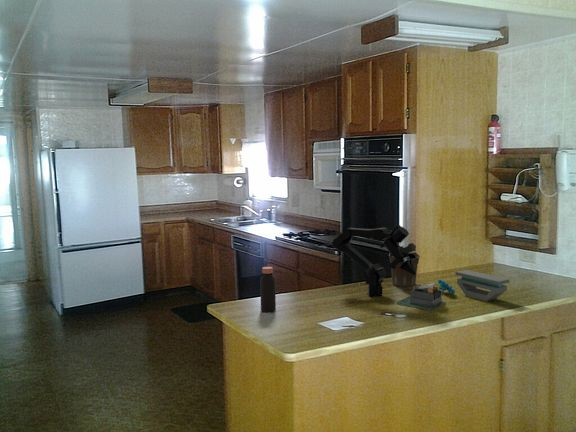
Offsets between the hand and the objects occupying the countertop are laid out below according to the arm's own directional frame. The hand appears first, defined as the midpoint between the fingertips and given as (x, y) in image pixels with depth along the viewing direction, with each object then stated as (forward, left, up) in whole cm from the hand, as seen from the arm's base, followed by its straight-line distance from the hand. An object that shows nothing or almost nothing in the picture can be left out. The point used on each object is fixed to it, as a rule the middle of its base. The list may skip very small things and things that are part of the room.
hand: (415, 274), depth 252 cm
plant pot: (+5, +35, -14) cm, 38 cm away
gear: (+20, +14, -14) cm, 28 cm away
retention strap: (+3, -3, -6) cm, 8 cm away
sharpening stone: (+34, +5, -14) cm, 37 cm away
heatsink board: (+2, -2, -14) cm, 14 cm away
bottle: (-70, -3, -14) cm, 71 cm away
